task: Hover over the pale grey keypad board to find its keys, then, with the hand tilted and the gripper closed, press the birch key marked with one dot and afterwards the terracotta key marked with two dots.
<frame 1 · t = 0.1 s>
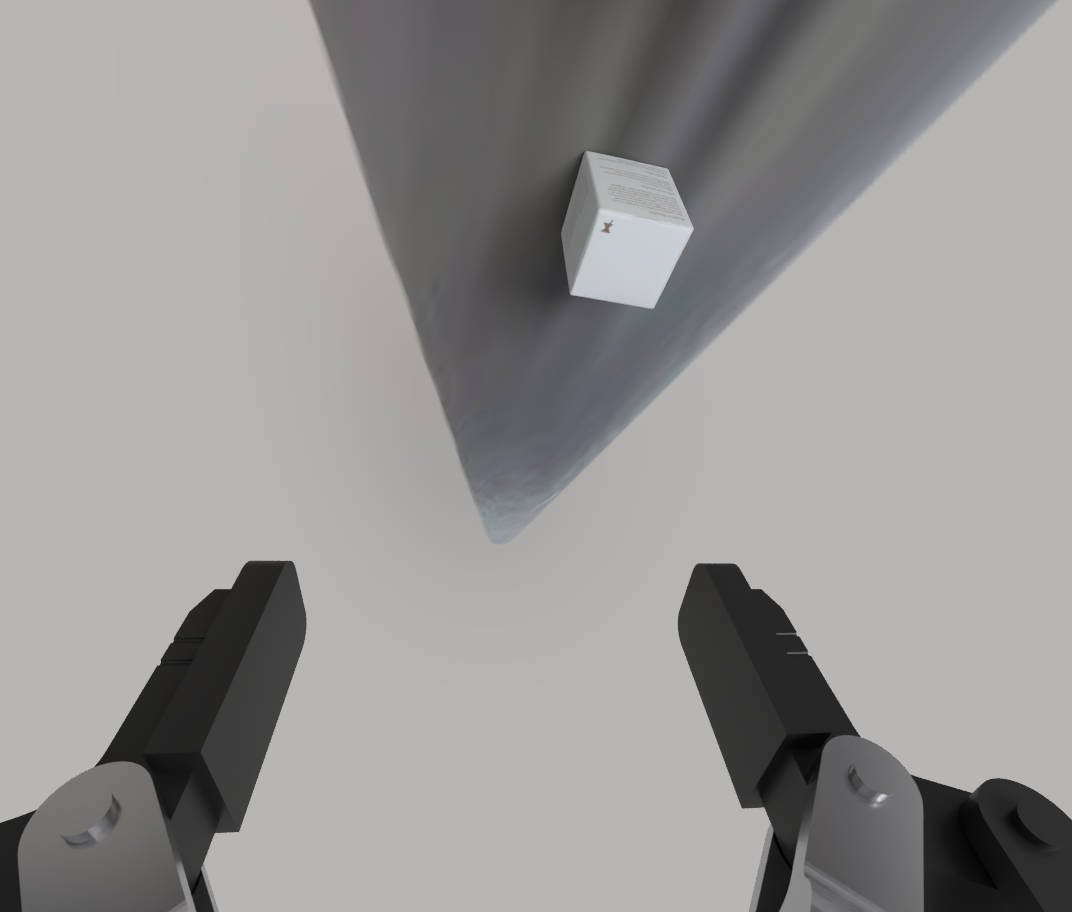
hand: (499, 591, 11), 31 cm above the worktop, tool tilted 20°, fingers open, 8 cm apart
product box: (612, 200, 37), on the worktop
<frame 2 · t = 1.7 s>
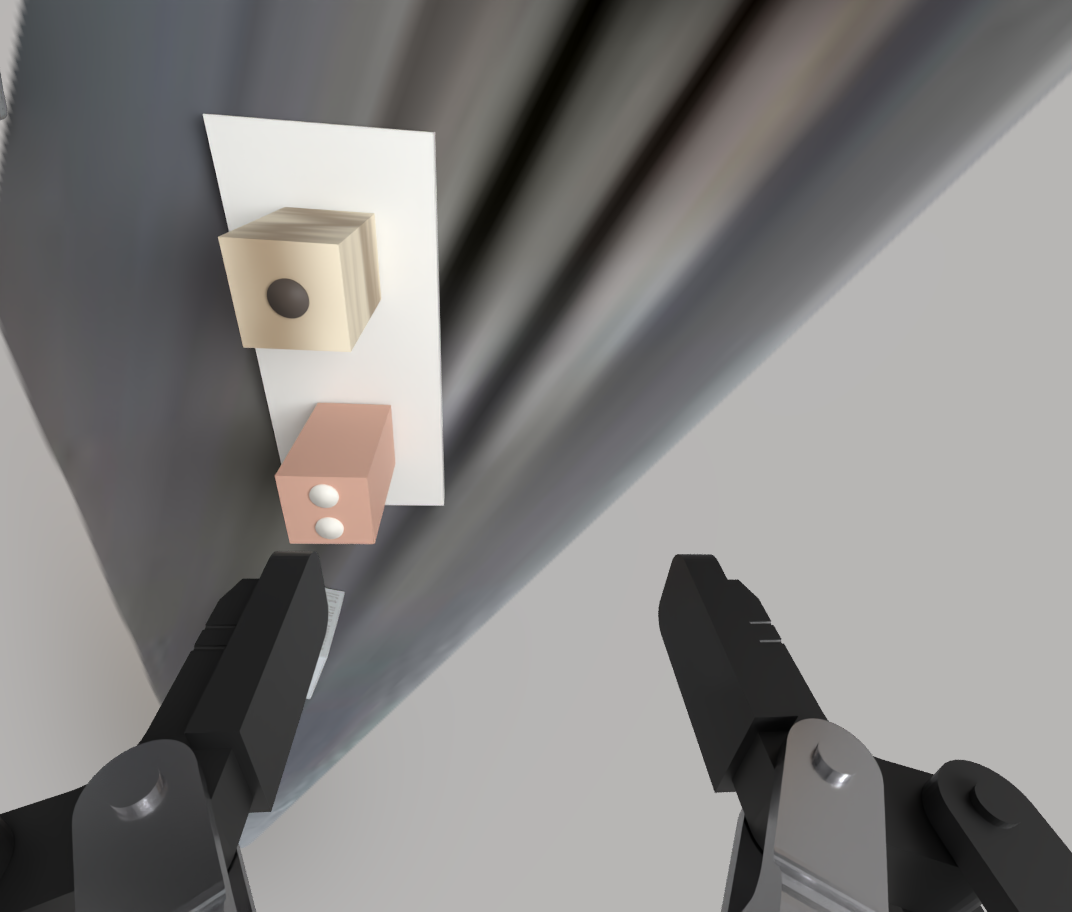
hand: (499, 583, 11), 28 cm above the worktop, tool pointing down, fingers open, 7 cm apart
keypad board: (352, 345, 36), on the worktop
key one: (315, 274, 28), point 6 cm above the worktop, slide at 0.0 cm
product box: (307, 602, 50), on the worktop
key two: (344, 469, 35), point 6 cm above the worktop, slide at 0.0 cm
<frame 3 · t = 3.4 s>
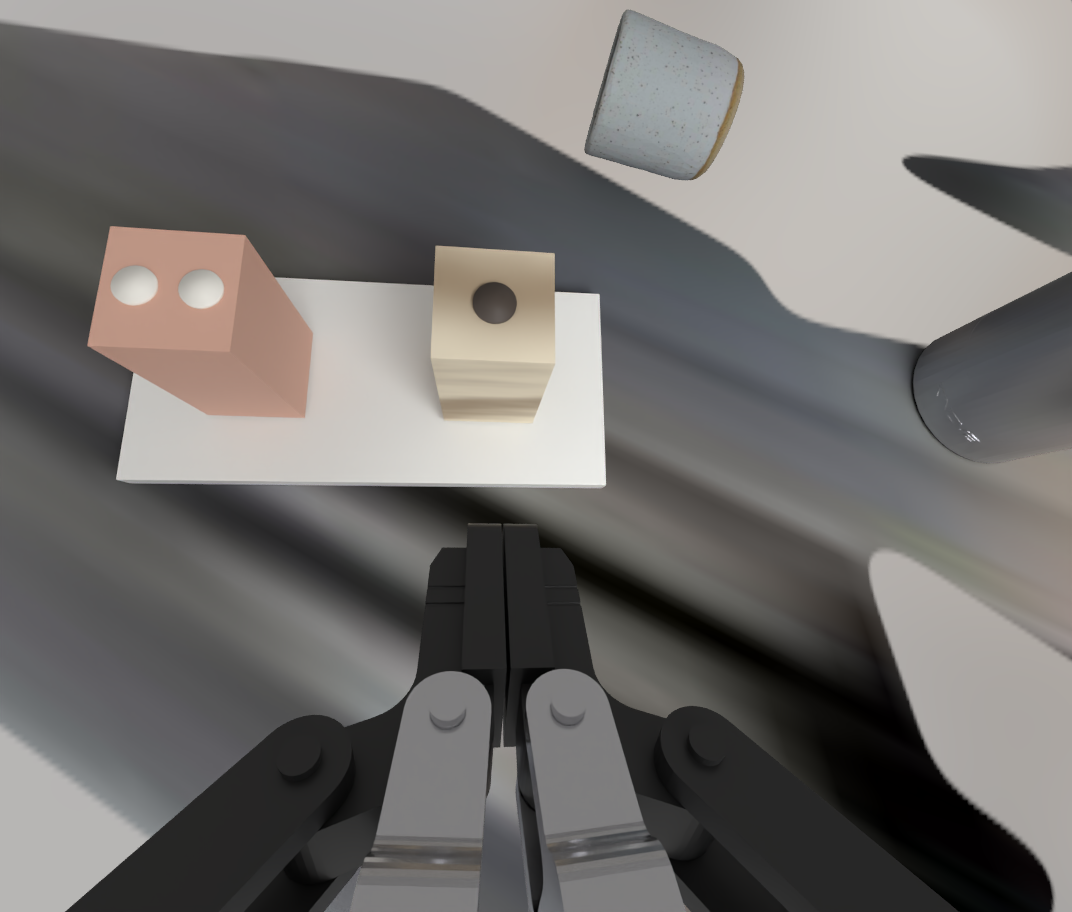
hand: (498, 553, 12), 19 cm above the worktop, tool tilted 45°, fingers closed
keypad board: (382, 385, 31), on the worktop
ceramic mug: (641, 136, 37), on the worktop
key one: (491, 347, 26), point 6 cm above the worktop, slide at 0.0 cm
key two: (223, 337, 25), point 6 cm above the worktop, slide at 0.0 cm
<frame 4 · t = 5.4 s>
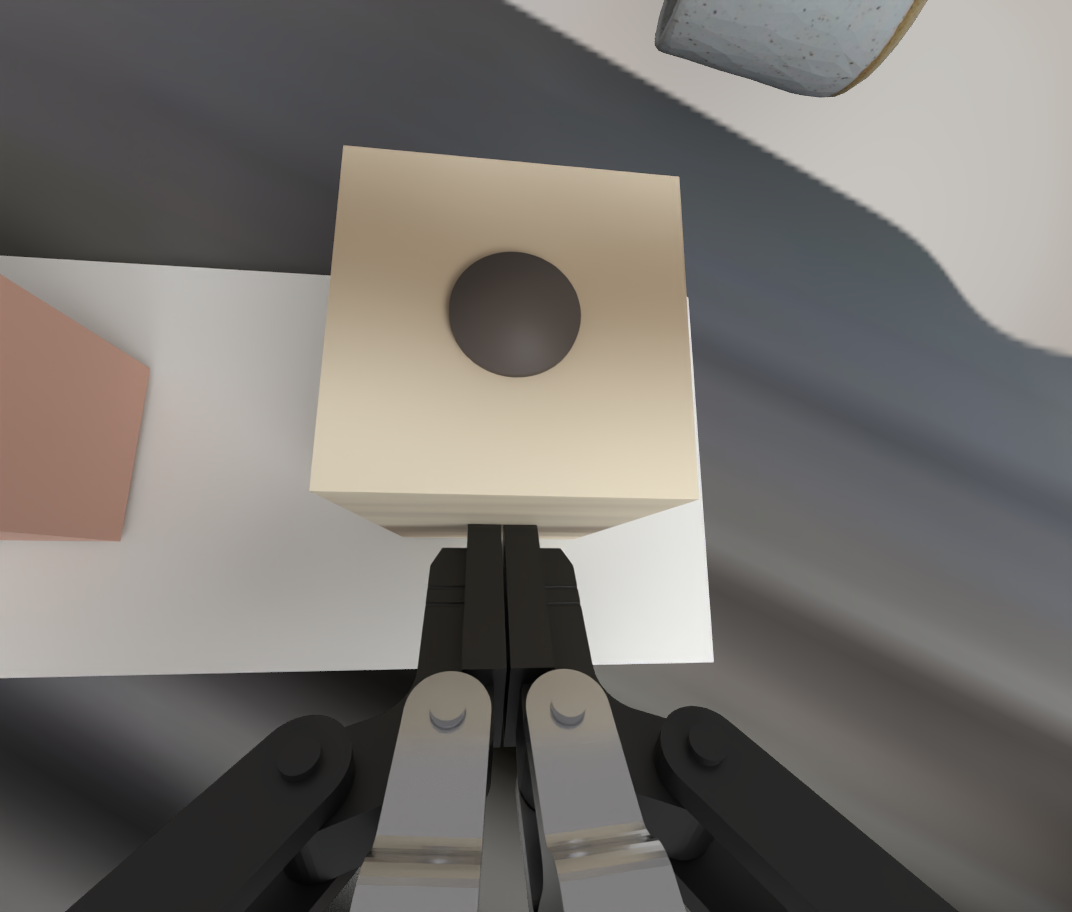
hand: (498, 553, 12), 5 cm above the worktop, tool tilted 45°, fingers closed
keypad board: (292, 464, 17), on the worktop
ceramic mug: (740, 33, 23), on the worktop
key one: (499, 410, 12), point 6 cm above the worktop, slide at 0.1 cm, touching gripper
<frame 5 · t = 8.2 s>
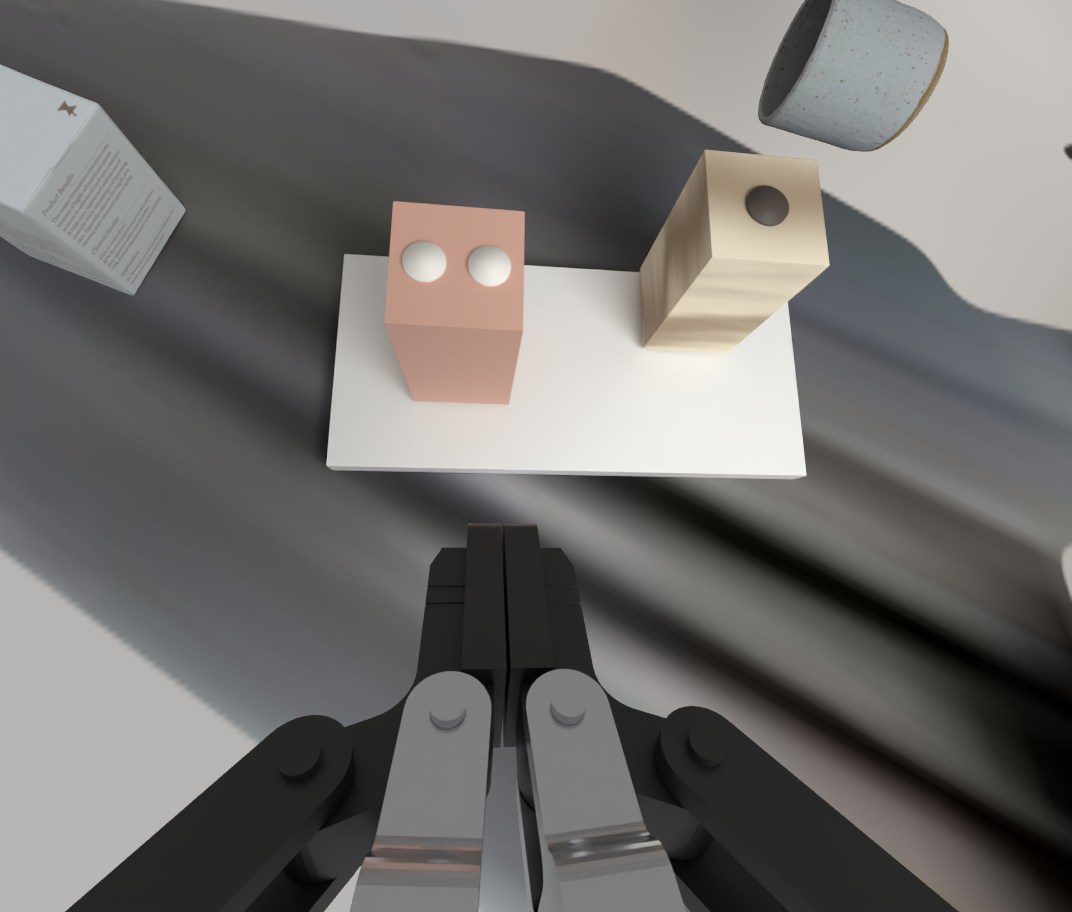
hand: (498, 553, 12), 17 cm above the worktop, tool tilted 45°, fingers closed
keypad board: (572, 373, 31), on the worktop
ceramic mug: (808, 108, 37), on the worktop
key one: (718, 266, 26), point 6 cm above the worktop, slide at 3.5 cm
product box: (114, 236, 30), on the worktop
key two: (460, 319, 24), point 6 cm above the worktop, slide at 0.0 cm
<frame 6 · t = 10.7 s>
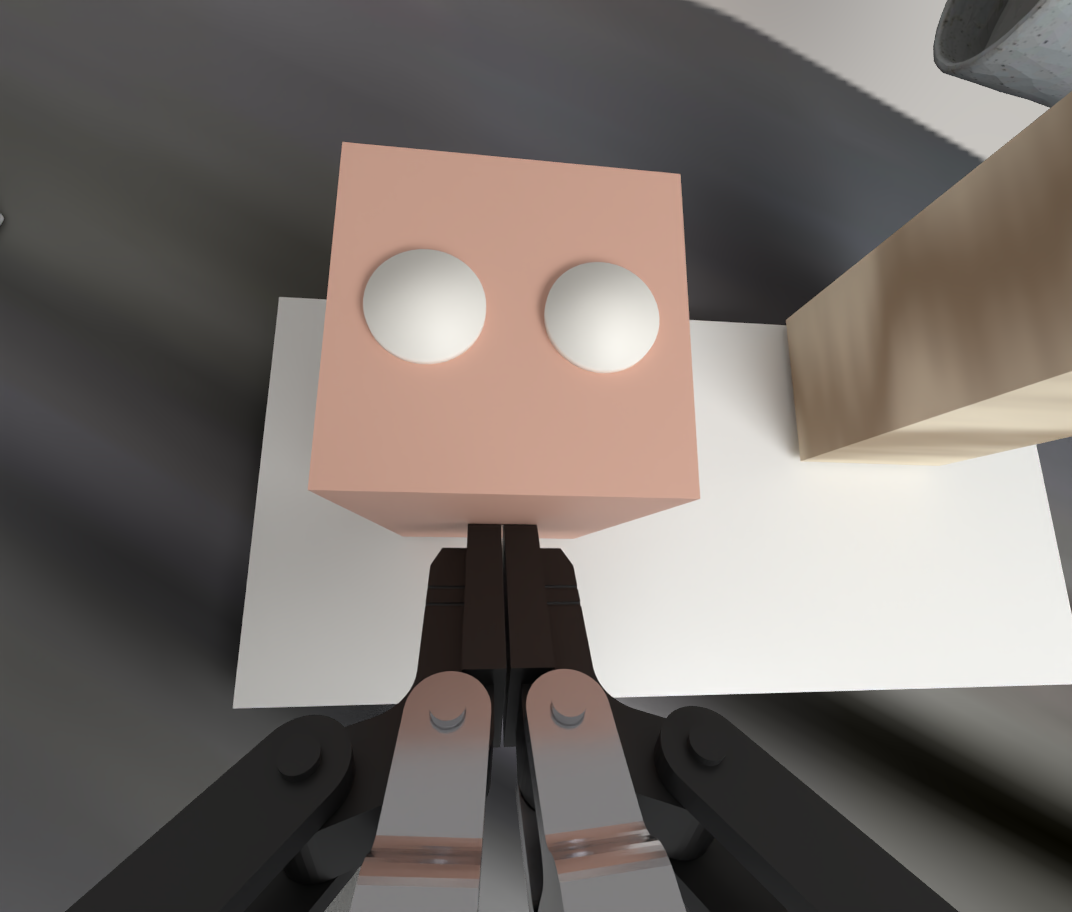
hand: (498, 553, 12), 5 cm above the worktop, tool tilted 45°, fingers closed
keypad board: (673, 497, 18), on the worktop
ceramic mug: (1000, 55, 25), on the worktop
key one: (989, 333, 13), point 6 cm above the worktop, slide at 3.5 cm
key two: (499, 409, 12), point 6 cm above the worktop, slide at 1.0 cm, touching gripper
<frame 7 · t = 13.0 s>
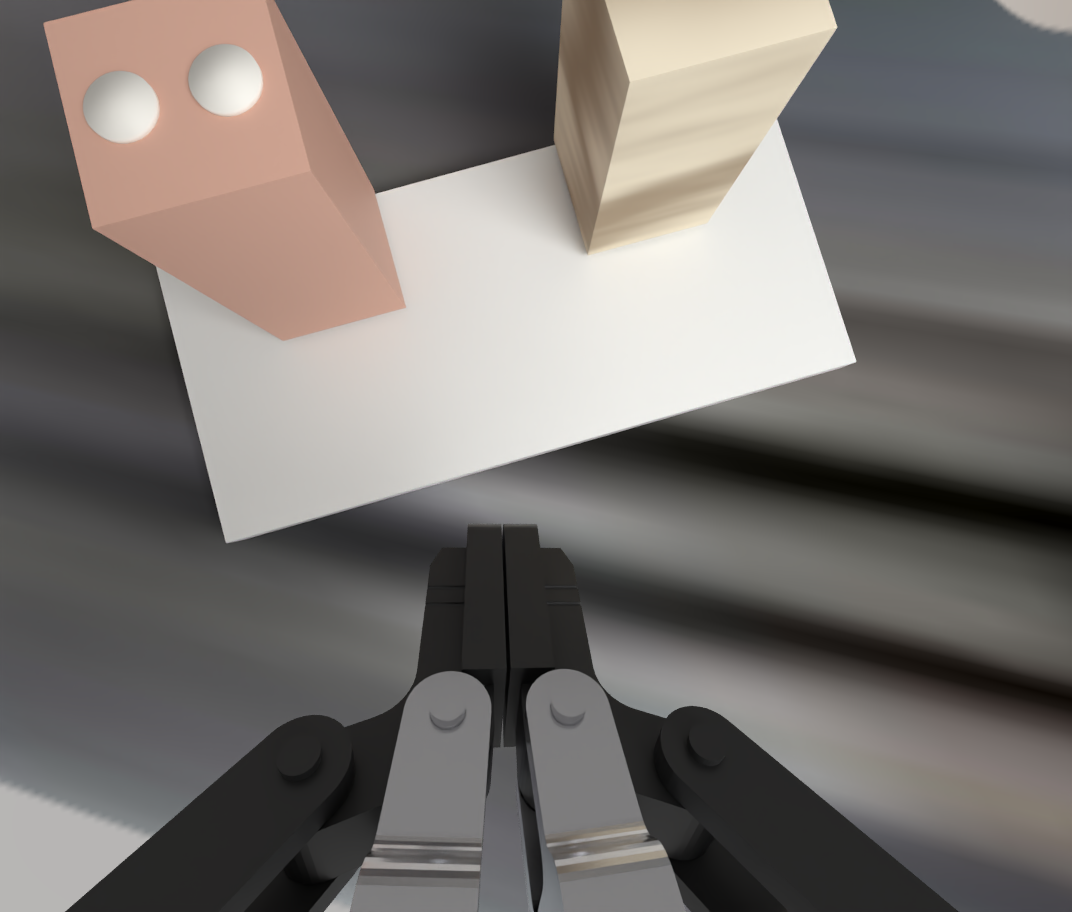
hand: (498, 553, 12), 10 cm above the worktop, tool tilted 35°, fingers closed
keypad board: (506, 317, 22), on the worktop
key one: (657, 96, 17), point 6 cm above the worktop, slide at 3.5 cm
key two: (272, 202, 16), point 6 cm above the worktop, slide at 3.5 cm
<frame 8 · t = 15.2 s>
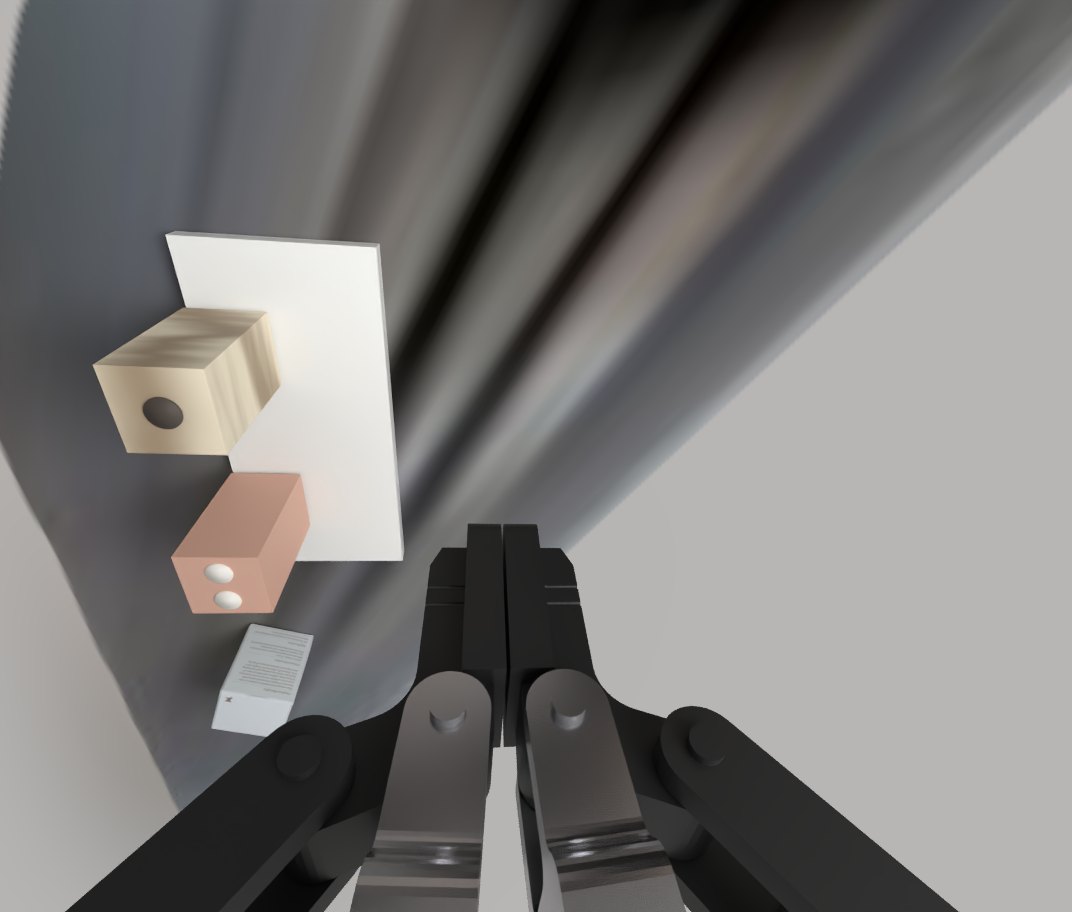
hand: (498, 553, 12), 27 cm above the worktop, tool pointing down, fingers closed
keypad board: (311, 422, 39), on the worktop
key one: (203, 376, 31), point 6 cm above the worktop, slide at 3.5 cm
product box: (278, 645, 53), on the worktop
key two: (250, 539, 37), point 6 cm above the worktop, slide at 3.5 cm
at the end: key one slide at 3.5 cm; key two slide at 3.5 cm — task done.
